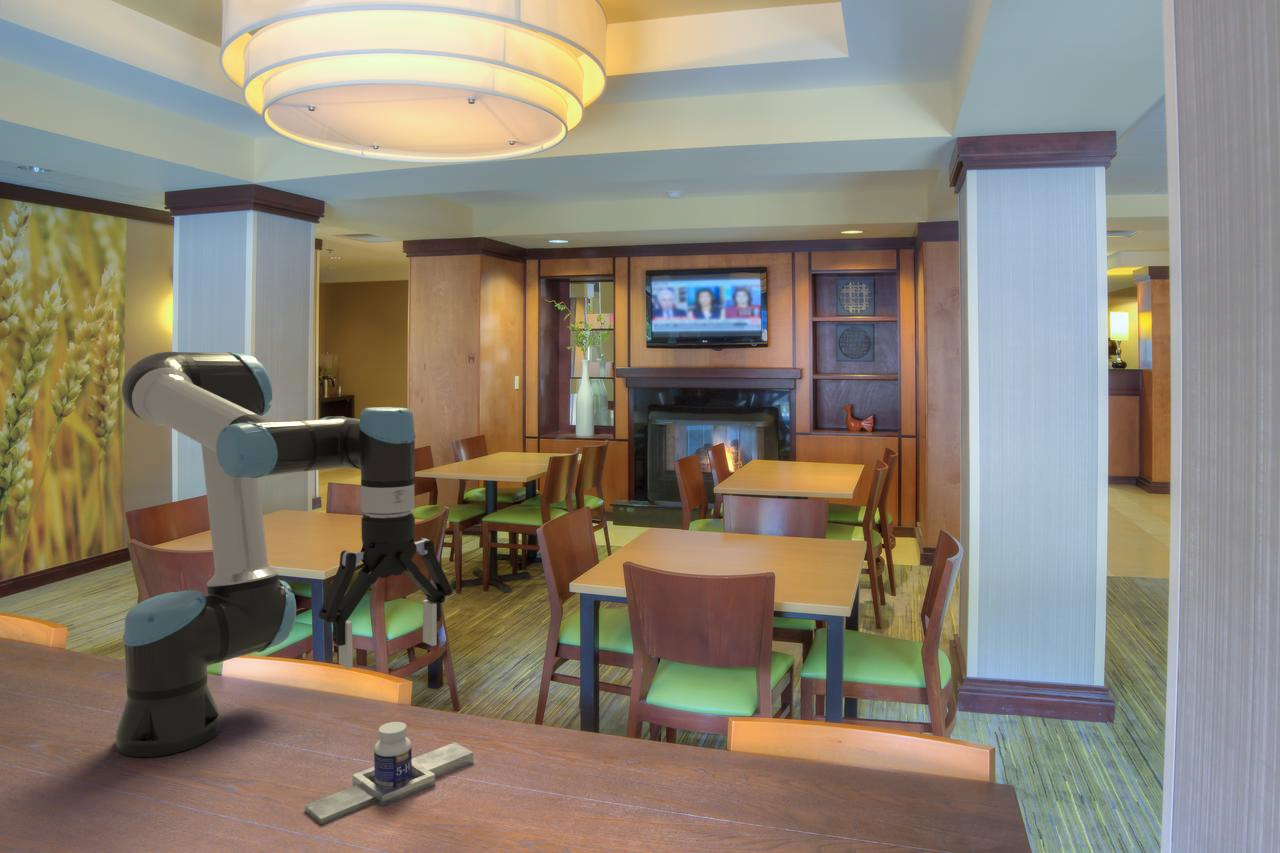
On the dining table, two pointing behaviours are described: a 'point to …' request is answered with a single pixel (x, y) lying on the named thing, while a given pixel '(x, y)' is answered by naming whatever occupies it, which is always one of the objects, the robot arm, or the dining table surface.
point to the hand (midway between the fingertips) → (389, 654)
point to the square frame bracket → (369, 793)
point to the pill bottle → (392, 756)
